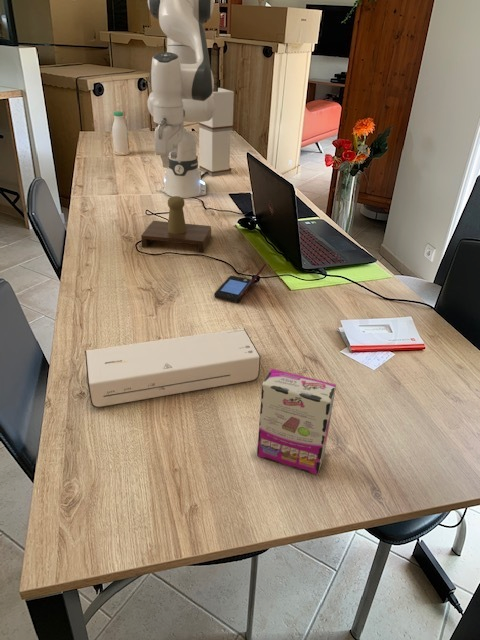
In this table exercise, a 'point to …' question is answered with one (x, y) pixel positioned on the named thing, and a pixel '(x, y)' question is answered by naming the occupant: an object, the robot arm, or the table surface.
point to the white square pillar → (217, 135)
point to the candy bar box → (294, 420)
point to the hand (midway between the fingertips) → (170, 162)
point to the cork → (176, 215)
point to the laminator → (170, 367)
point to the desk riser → (192, 234)
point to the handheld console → (235, 288)
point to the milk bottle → (120, 134)
